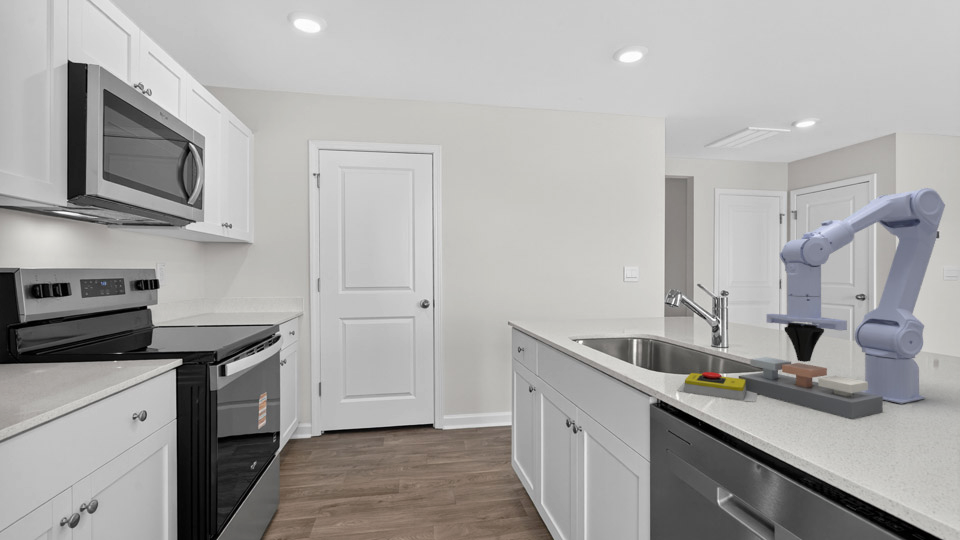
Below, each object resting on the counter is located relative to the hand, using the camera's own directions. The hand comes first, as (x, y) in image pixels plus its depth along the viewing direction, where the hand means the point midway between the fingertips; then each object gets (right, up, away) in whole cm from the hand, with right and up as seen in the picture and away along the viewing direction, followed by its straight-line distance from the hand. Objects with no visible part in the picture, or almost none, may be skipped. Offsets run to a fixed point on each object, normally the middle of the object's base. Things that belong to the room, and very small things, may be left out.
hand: (804, 360), depth 91 cm
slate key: (-3, -6, +6) cm, 9 cm away
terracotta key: (0, -6, 0) cm, 6 cm away
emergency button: (-15, -9, +6) cm, 18 cm away
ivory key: (+3, -7, -6) cm, 10 cm away
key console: (0, -8, 0) cm, 8 cm away
